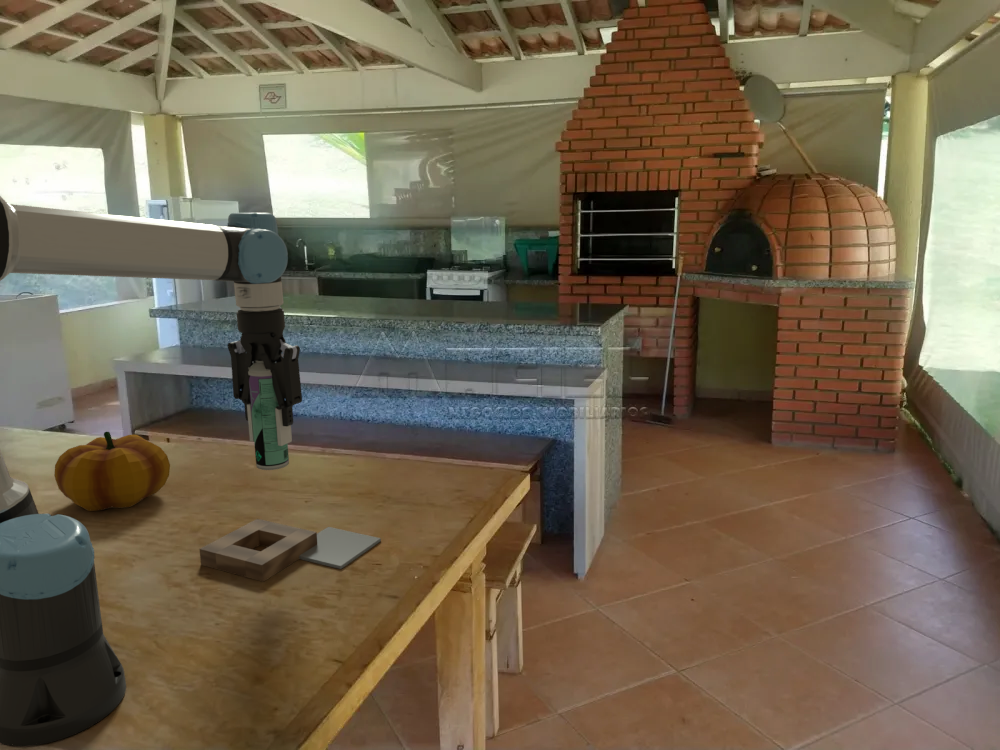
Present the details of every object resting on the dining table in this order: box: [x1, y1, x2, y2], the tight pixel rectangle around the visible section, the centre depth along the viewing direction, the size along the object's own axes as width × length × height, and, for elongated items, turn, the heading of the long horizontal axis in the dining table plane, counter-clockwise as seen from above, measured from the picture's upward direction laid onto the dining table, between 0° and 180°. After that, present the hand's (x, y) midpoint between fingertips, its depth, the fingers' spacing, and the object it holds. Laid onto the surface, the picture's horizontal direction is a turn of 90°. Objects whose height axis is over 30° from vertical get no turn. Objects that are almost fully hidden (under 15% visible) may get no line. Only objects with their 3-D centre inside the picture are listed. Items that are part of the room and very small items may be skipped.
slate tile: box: [298, 526, 382, 570], centre depth 136 cm, size 12×12×1 cm
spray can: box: [248, 359, 290, 471], centre depth 128 cm, size 6×6×20 cm
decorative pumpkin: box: [53, 431, 171, 512], centre depth 157 cm, size 20×22×15 cm
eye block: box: [198, 518, 318, 582], centre depth 133 cm, size 14×14×3 cm
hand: (270, 440), depth 129 cm, fingers closed on spray can, 5 cm apart
